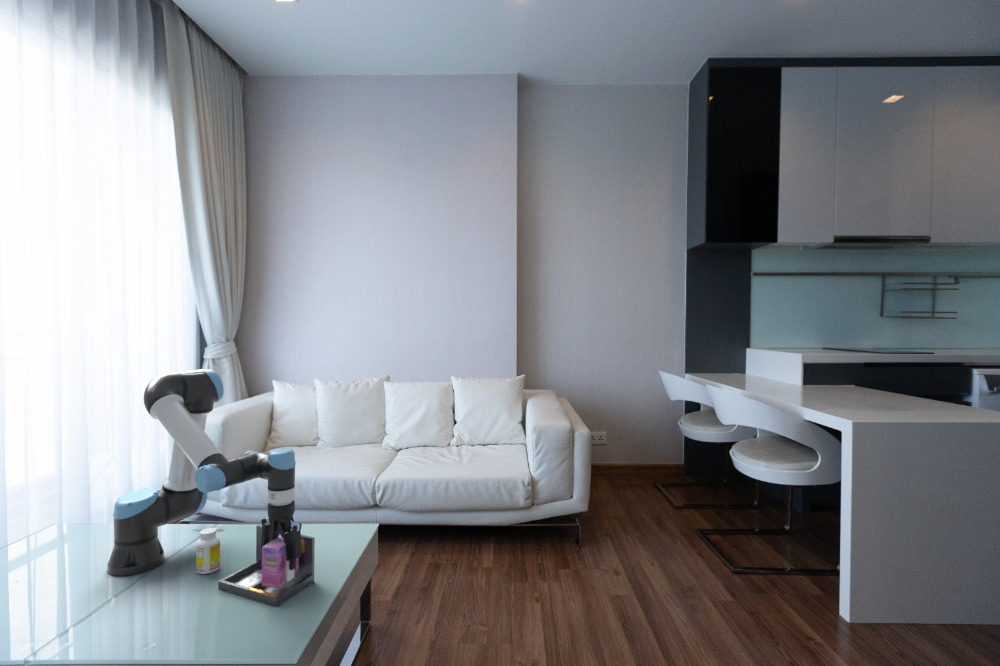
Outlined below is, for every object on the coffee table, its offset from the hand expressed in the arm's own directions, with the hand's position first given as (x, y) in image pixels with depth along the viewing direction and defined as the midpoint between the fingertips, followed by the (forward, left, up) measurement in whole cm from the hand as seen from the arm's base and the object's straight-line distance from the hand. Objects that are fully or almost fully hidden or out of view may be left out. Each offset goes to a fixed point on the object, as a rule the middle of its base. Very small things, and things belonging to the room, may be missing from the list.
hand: (281, 576), depth 153 cm
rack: (-6, 0, -4) cm, 7 cm away
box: (0, 0, -1) cm, 1 cm away
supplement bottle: (-30, 0, -4) cm, 30 cm away
